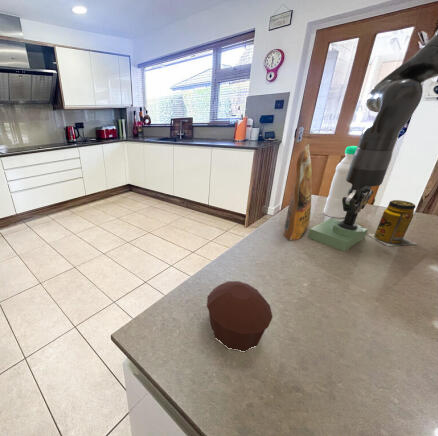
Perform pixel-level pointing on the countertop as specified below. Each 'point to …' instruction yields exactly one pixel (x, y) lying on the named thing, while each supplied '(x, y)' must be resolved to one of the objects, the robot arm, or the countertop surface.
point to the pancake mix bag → (300, 198)
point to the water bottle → (339, 186)
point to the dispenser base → (336, 234)
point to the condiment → (395, 223)
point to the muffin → (238, 314)
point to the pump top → (348, 226)
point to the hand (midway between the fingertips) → (348, 223)
